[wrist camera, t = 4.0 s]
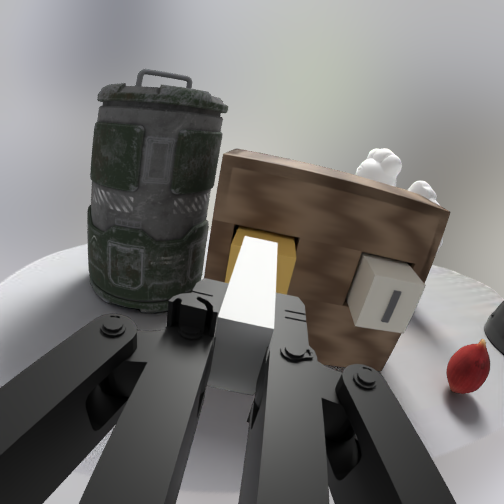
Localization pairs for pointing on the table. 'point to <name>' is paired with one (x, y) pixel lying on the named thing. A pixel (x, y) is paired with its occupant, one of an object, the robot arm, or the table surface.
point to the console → (325, 240)
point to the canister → (151, 190)
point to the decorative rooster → (391, 173)
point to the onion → (468, 368)
